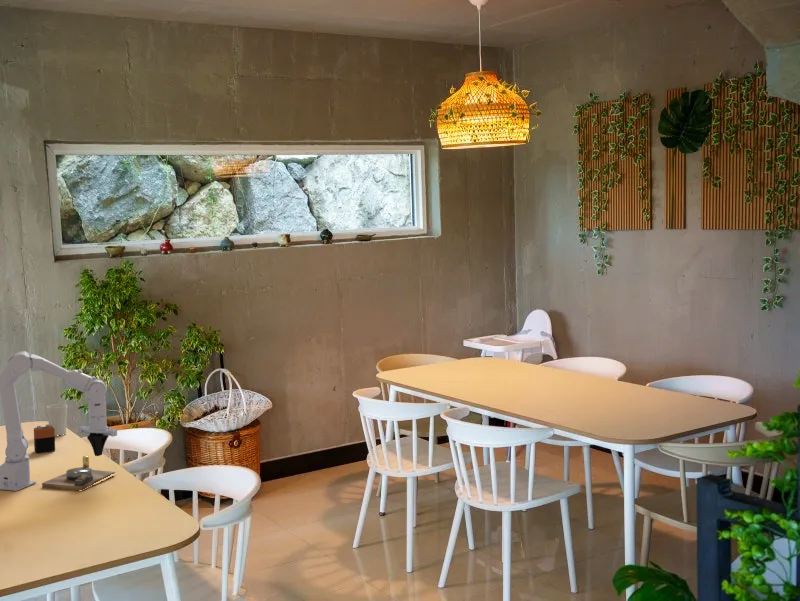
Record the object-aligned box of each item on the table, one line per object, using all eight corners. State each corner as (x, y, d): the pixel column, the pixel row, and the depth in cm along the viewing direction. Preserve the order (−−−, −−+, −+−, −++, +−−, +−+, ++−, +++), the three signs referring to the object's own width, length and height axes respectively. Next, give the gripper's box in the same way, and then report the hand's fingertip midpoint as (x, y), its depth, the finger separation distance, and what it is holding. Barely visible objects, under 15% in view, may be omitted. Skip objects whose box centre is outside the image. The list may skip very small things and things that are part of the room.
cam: (87, 479, 283) (86, 464, 283) (62, 479, 283) (62, 465, 283) (98, 470, 295) (98, 455, 294) (75, 470, 294) (74, 455, 294)
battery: (55, 451, 327) (54, 425, 327) (36, 453, 324) (35, 427, 323) (53, 448, 331) (52, 423, 330) (34, 451, 327) (33, 425, 326)
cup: (61, 437, 349) (60, 408, 348) (43, 436, 351) (42, 407, 350) (72, 432, 357) (71, 404, 356) (55, 432, 359) (54, 403, 358)
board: (81, 491, 276) (80, 478, 276) (42, 487, 281) (41, 474, 280) (115, 476, 294) (114, 464, 293) (77, 472, 298) (77, 460, 298)
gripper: (122, 415, 291) (123, 454, 292) (88, 411, 296) (89, 450, 297) (108, 419, 284) (109, 459, 285) (74, 415, 290) (74, 455, 291)
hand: (98, 455), depth 291 cm, fingers closed
